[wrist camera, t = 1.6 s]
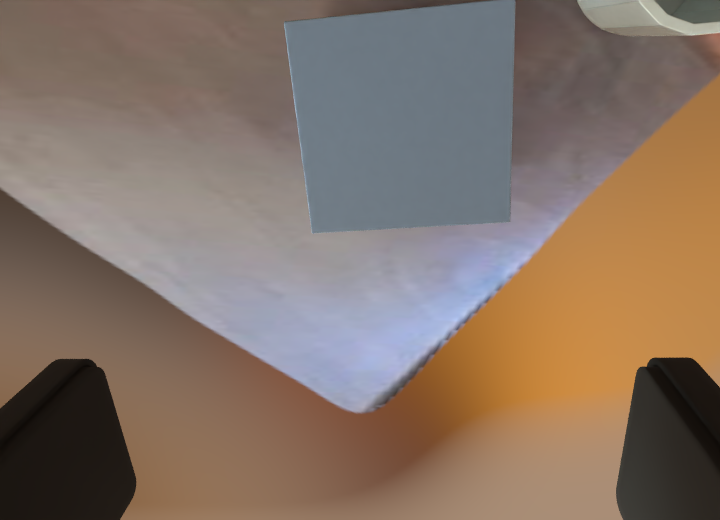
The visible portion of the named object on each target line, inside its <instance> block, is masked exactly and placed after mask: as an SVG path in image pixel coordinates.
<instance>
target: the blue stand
mask: <svg viewBox="0 0 720 520" xmlns="http://www.w3.org/2000/svg"><path fill="white" fill-rule="evenodd" d="M284 27H285V34H286V42H287V49H288V57H289V64H290V72H291V79H292V87H293V94H294V102H295V109H296V117H297V124H298V132H299V139H300V147H301V154H302V162H303V169H304V177H305V184H306V192H307V199H308V207H309V214H310V222H311V229H312V233H329V232H346V231H364V230H381V229H399V228H416V227H434V226H451V225H468V224H486V223H503V222H510V204H511V162H512V121H513V80H514V38H515V0H488V1H478V2H468V3H459V4H449V5H439V6H430V7H420V8H410V9H401V10H391V11H381V12H372V13H362V14H352V15H343V16H333V17H324V18H314V19H304V20H295V21H285V22H284Z"/></svg>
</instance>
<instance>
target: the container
mask: <svg viewBox="0 0 720 520" xmlns="http://www.w3.org/2000/svg"><path fill="white" fill-rule="evenodd" d="M577 2H578V4H579V6H580V8H581V10H582V11H583V13H584V14H585V15H586V17H587V18H588V19H589V20H590V21H591V22H592V23H593V24H594V25H596V26H598V27H599V28H601V29H603V30H605V31H607V32H610V33H614V34H618V35H622V36H691V35H702V34H713V33H720V0H577Z"/></svg>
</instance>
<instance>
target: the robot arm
mask: <svg viewBox="0 0 720 520" xmlns="http://www.w3.org/2000/svg"><path fill="white" fill-rule="evenodd" d="M135 489H136V477H135V473H134V470H133V466H132V463H131V460H130V456H129V453H128V450H127V446H126V443H125V440H124V436H123V433H122V429H121V426H120V423H119V419H118V416H117V413H116V409H115V406H114V403H113V399H112V396H111V393H110V389H109V386H108V382H107V379H106V376H105V373H104V371H103V370H102V369H101V368H99V367H97V366H96V364H95V363H94V362H93V361H92V360H89V359H58V360H55V361H54V362H52V363H51V364H50V365H48V366H47V367H46V368H45V369H44V370H43V371H42V372H41V373H39V374H38V375H37V376H36V377H35V378H34V379H33V380H32V381H31V382H29V383H28V384H27V385H26V386H25V387H24V388H23V389H22V390H21V391H19V392H18V393H17V394H16V395H15V396H14V397H13V398H12V399H10V400H9V401H8V402H7V403H6V404H5V405H4V406H3V407H2V408H0V520H120V518H121V517H122V515H123V513H124V512H125V510H126V508H127V507H128V505H129V504H130V502H131V500H132V498H133V496H134V493H135ZM616 497H617V503H618V507H619V511H620V513H621V515H622V518H623V520H720V387H719V386H718V385H717V384H716V383H715V382H714V381H713V380H712V378H711V377H710V376H709V375H708V374H707V373H706V372H705V371H704V369H703V368H702V367H701V366H700V365H699V364H698V363H697V362H696V361H695V360H693V359H692V358H652V359H651V360H650V361H649V362H648V364H647V367H640V368H639V369H638V370H637V373H636V377H635V383H634V389H633V395H632V401H631V406H630V413H629V418H628V424H627V430H626V435H625V441H624V447H623V453H622V458H621V465H620V470H619V476H618V482H617V488H616Z"/></svg>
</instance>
